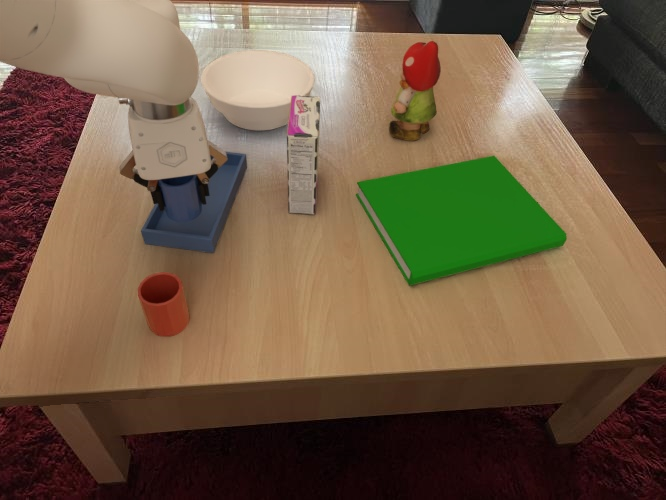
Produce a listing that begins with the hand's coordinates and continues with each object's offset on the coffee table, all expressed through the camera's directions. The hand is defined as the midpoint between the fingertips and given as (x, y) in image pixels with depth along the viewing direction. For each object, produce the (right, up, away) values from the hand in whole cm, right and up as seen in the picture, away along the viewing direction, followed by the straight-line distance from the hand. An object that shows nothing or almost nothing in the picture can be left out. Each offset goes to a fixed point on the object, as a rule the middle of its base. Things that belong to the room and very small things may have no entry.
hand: (182, 201), depth 81 cm
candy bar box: (+18, +2, +12) cm, 22 cm away
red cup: (0, -17, -8) cm, 19 cm away
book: (+44, -3, +10) cm, 46 cm away
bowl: (+8, +21, +29) cm, 37 cm away
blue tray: (0, +1, +9) cm, 9 cm away
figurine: (+39, +17, +28) cm, 51 cm away
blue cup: (0, -1, +1) cm, 2 cm away
